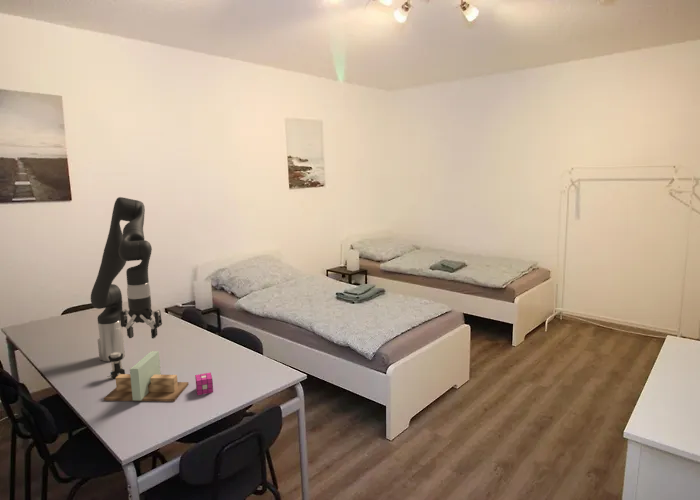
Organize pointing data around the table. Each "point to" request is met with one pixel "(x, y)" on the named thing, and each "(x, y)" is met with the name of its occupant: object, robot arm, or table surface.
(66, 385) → the table surface
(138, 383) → the sage slotted plate
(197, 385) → the puzzle toy
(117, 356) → the push button
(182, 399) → the table surface
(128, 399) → the oak slotted rail
